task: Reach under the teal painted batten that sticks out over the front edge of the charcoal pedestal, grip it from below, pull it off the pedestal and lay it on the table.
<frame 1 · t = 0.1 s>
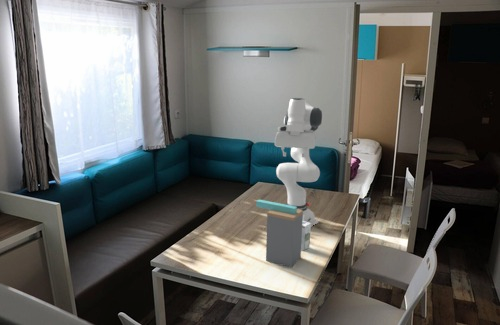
hand: (293, 156, 214), 52 cm above the table, tool tilted 20°, fingers open, 8 cm apart
teal batten: (276, 209, 214), point 26 cm above the table, touching pedestal
syrup box: (302, 248, 232), on the table
pedestal: (283, 259, 219), on the table
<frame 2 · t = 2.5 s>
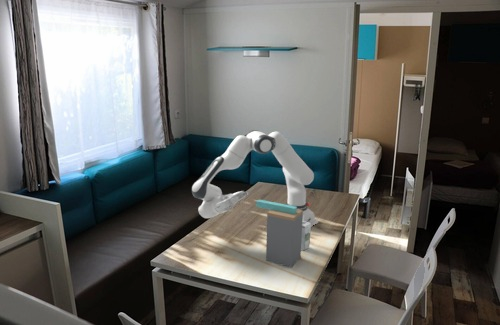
hand: (242, 195, 222), 30 cm above the table, tool pointing upward, fingers open, 8 cm apart
nothing on the table moved.
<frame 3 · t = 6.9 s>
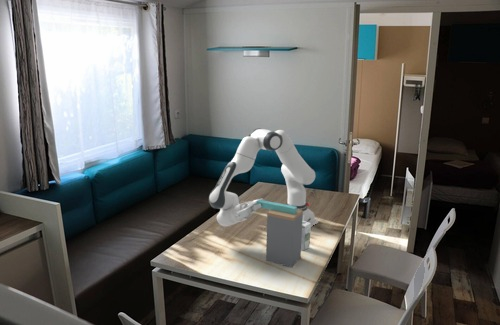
hand: (263, 203, 217), 28 cm above the table, tool pointing upward, fingers closed on teal batten, 3 cm apart
teal batten: (276, 209, 214), point 26 cm above the table, touching gripper, pedestal
everything else where it was.
when the fingers open (13 cm above the table, at t = 14.8 s): teal batten drops 8 cm, on the table.
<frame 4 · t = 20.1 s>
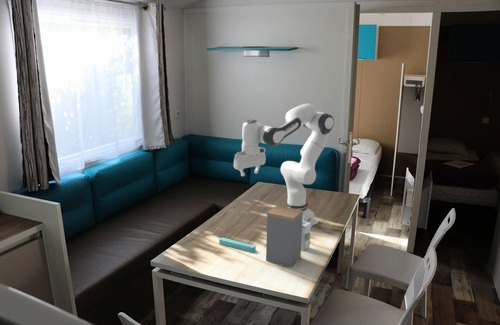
hand: (249, 174, 235), 37 cm above the table, tool pointing down, fingers open, 8 cm apart
teal batten: (237, 247, 231), on the table
everything else where it was.
at the end: teal batten on the table; teal batten moved 34.7 cm from its start; the gripper is holding nothing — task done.
